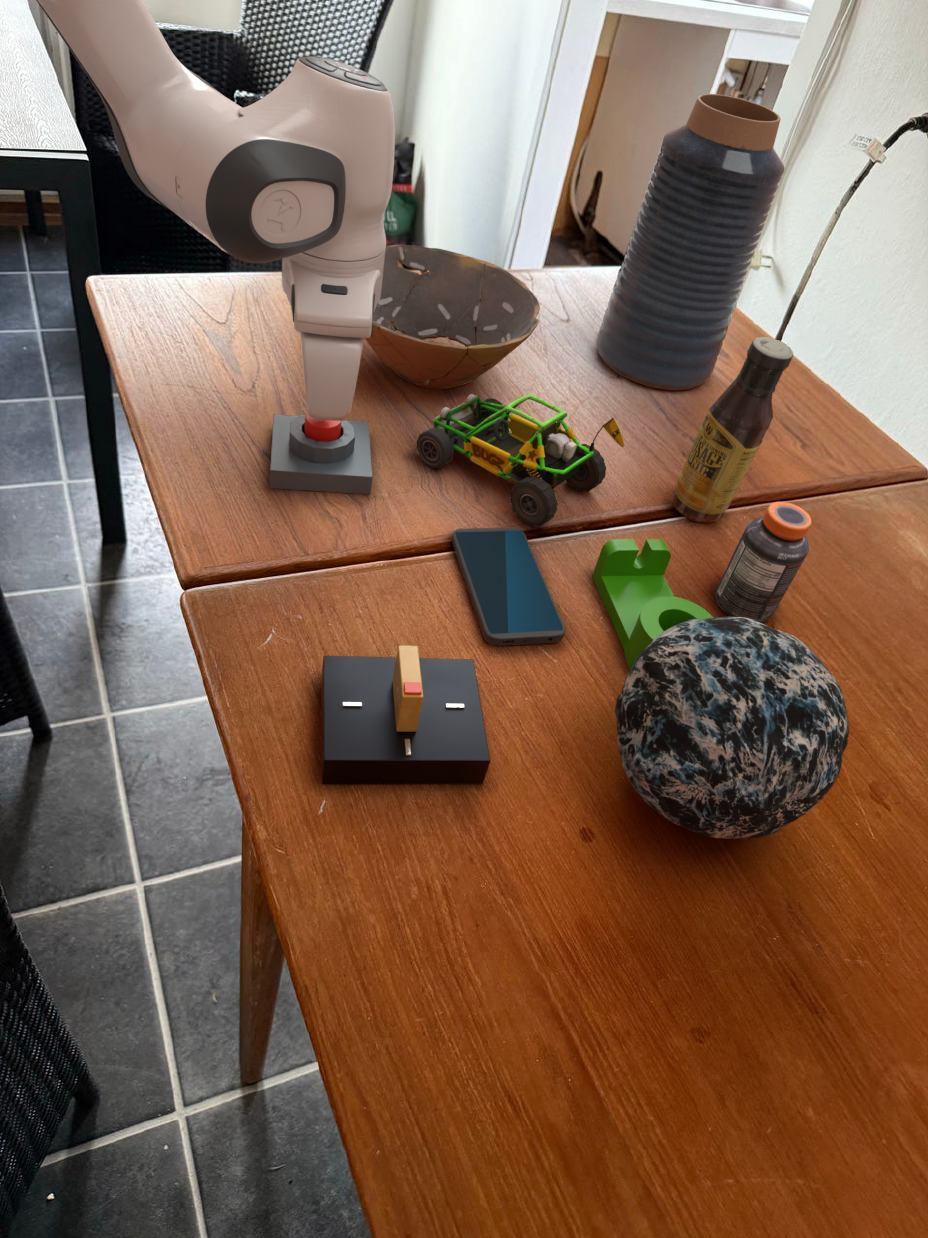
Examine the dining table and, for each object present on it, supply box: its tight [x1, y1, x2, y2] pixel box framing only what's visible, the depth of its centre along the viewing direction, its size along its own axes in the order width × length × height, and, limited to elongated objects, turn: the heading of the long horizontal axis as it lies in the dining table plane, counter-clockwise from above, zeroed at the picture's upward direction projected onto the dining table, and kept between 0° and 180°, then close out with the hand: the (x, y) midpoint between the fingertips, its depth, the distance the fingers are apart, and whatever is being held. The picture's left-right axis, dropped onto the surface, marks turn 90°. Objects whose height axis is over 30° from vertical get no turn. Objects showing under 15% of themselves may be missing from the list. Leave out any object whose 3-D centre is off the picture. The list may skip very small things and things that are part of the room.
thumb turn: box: [392, 644, 423, 732], centre depth 65 cm, size 5×2×4 cm, turn 7°
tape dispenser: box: [591, 538, 714, 670], centre depth 80 cm, size 15×7×5 cm, turn 11°
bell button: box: [304, 411, 341, 442], centre depth 88 cm, size 4×4×2 cm
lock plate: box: [320, 655, 491, 785], centre depth 67 cm, size 12×10×3 cm
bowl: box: [364, 244, 541, 390], centre depth 106 cm, size 25×25×10 cm
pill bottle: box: [714, 501, 812, 624], centre depth 82 cm, size 6×6×11 cm
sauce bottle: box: [671, 336, 794, 524], centre depth 90 cm, size 6×6×20 cm
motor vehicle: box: [415, 393, 625, 528], centre depth 91 cm, size 12×19×11 cm, turn 51°
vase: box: [595, 93, 786, 391], centre depth 110 cm, size 16×16×32 cm
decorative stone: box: [614, 615, 850, 840], centre depth 64 cm, size 16×16×15 cm
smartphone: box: [451, 527, 566, 647], centre depth 82 cm, size 8×15×1 cm, turn 13°
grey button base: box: [269, 413, 373, 495], centre depth 90 cm, size 10×10×4 cm
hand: (324, 408), depth 87 cm, fingers closed
